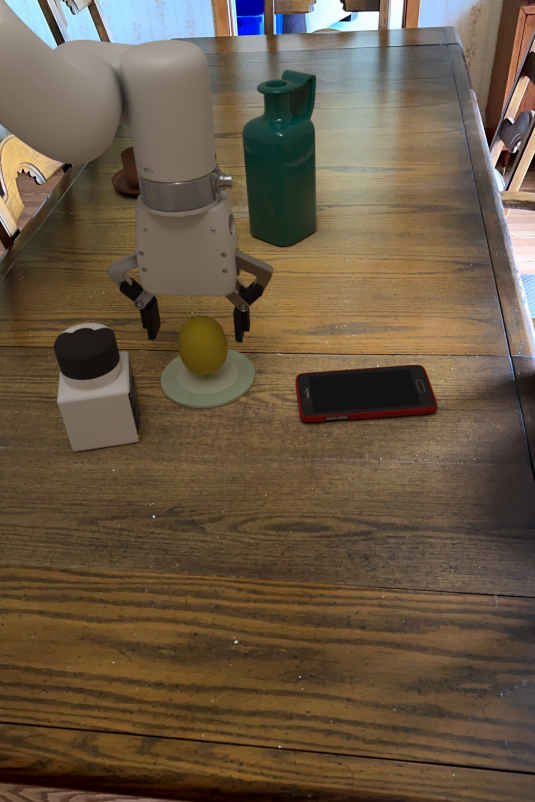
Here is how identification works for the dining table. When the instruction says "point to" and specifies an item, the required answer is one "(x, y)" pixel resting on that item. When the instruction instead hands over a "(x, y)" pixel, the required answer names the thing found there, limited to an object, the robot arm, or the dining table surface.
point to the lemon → (202, 345)
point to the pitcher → (282, 161)
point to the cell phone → (364, 393)
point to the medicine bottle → (96, 388)
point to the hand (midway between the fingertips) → (197, 334)
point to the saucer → (208, 382)
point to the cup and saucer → (127, 174)
